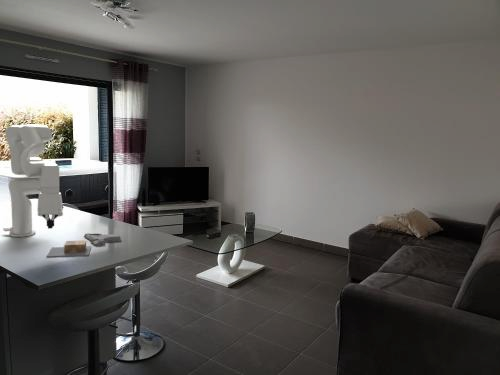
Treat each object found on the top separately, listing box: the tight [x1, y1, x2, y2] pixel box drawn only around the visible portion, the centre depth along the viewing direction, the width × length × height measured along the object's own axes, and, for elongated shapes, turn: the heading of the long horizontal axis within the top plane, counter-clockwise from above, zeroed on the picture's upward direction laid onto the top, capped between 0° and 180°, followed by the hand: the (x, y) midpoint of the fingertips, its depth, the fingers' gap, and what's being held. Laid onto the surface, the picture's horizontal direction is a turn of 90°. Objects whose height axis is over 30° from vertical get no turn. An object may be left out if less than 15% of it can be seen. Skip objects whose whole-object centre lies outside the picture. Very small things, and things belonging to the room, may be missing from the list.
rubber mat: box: [46, 245, 92, 258], centre depth 186 cm, size 18×14×1 cm
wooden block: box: [63, 239, 87, 253], centre depth 187 cm, size 4×7×9 cm
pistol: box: [83, 233, 121, 247], centre depth 210 cm, size 20×3×16 cm
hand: (50, 227), depth 183 cm, fingers closed
